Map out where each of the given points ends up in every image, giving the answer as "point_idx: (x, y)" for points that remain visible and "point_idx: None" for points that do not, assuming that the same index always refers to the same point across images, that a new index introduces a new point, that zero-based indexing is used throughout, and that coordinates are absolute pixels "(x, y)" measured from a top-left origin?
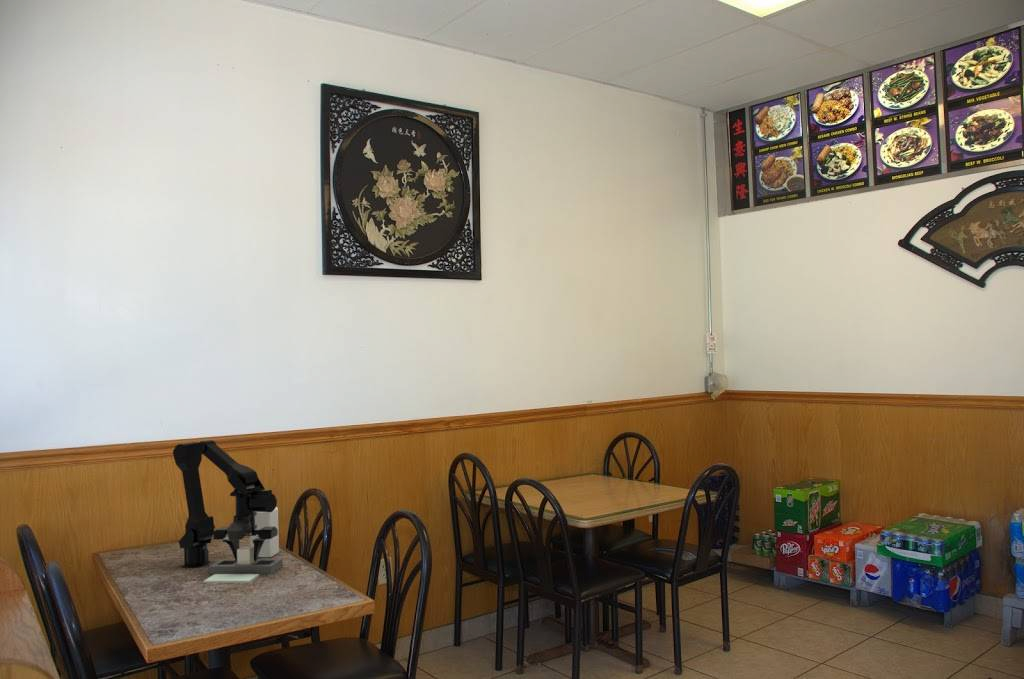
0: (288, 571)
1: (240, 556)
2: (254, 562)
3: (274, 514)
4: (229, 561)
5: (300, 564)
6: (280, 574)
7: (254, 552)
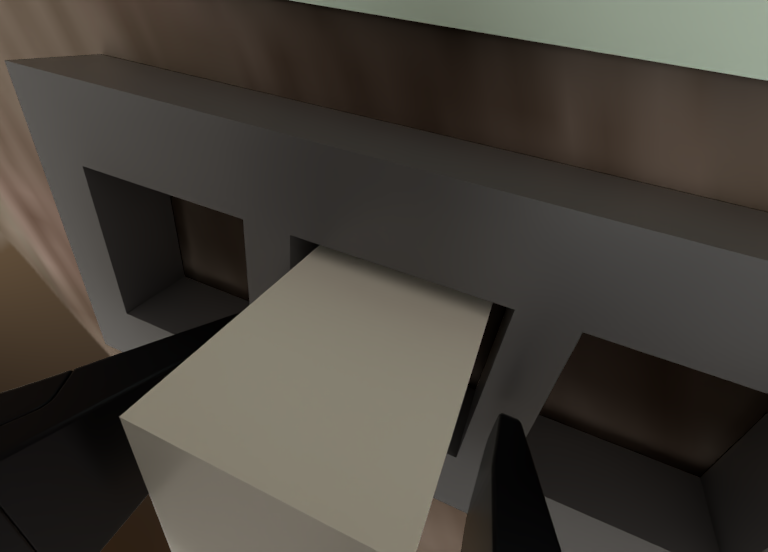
0: None
1: (391, 386)
2: None
3: None
4: (636, 524)
5: (86, 308)
6: (26, 31)
7: (138, 370)
